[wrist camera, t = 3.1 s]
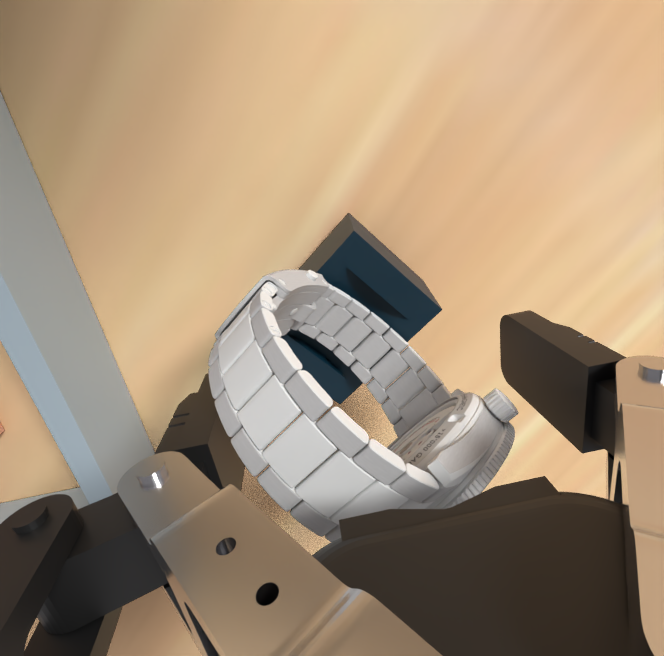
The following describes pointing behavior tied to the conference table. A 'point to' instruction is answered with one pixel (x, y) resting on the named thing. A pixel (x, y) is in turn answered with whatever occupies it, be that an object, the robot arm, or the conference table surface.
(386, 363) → the watch
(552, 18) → the conference table surface
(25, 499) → the grey flat square frame
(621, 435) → the robot arm
